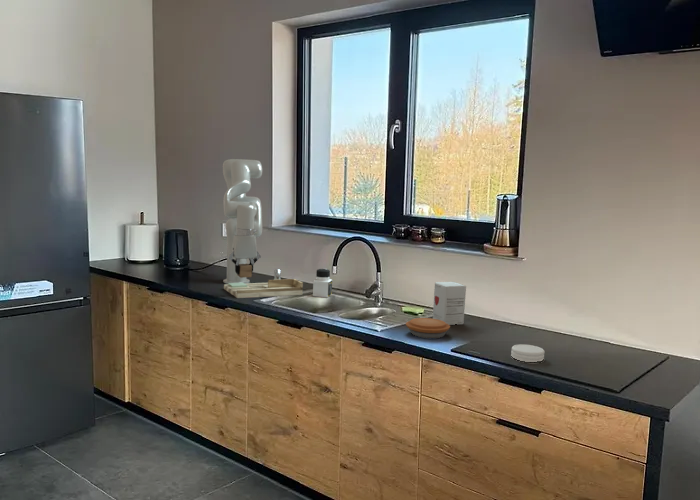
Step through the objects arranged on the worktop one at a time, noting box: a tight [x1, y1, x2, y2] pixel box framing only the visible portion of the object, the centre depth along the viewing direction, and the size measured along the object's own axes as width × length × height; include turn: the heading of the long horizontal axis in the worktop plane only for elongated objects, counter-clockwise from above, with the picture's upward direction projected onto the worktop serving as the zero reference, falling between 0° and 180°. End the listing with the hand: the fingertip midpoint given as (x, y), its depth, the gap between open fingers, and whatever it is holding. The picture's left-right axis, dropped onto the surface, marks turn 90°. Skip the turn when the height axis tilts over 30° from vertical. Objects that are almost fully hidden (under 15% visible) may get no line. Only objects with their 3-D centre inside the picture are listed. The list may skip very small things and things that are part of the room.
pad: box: [228, 283, 247, 288], centre depth 283 cm, size 7×7×1 cm
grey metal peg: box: [273, 268, 282, 280], centre depth 291 cm, size 3×3×7 cm
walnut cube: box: [237, 263, 253, 278], centre depth 271 cm, size 5×5×5 cm
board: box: [223, 278, 304, 299], centre depth 282 cm, size 22×30×6 cm
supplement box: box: [432, 281, 467, 326], centre depth 237 cm, size 9×9×15 cm
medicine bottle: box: [312, 268, 333, 298], centre depth 279 cm, size 7×7×12 cm
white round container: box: [510, 344, 545, 362], centre depth 194 cm, size 10×10×4 cm
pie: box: [405, 317, 451, 339], centre depth 218 cm, size 15×16×5 cm
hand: (244, 273), depth 272 cm, fingers closed on walnut cube, 5 cm apart
